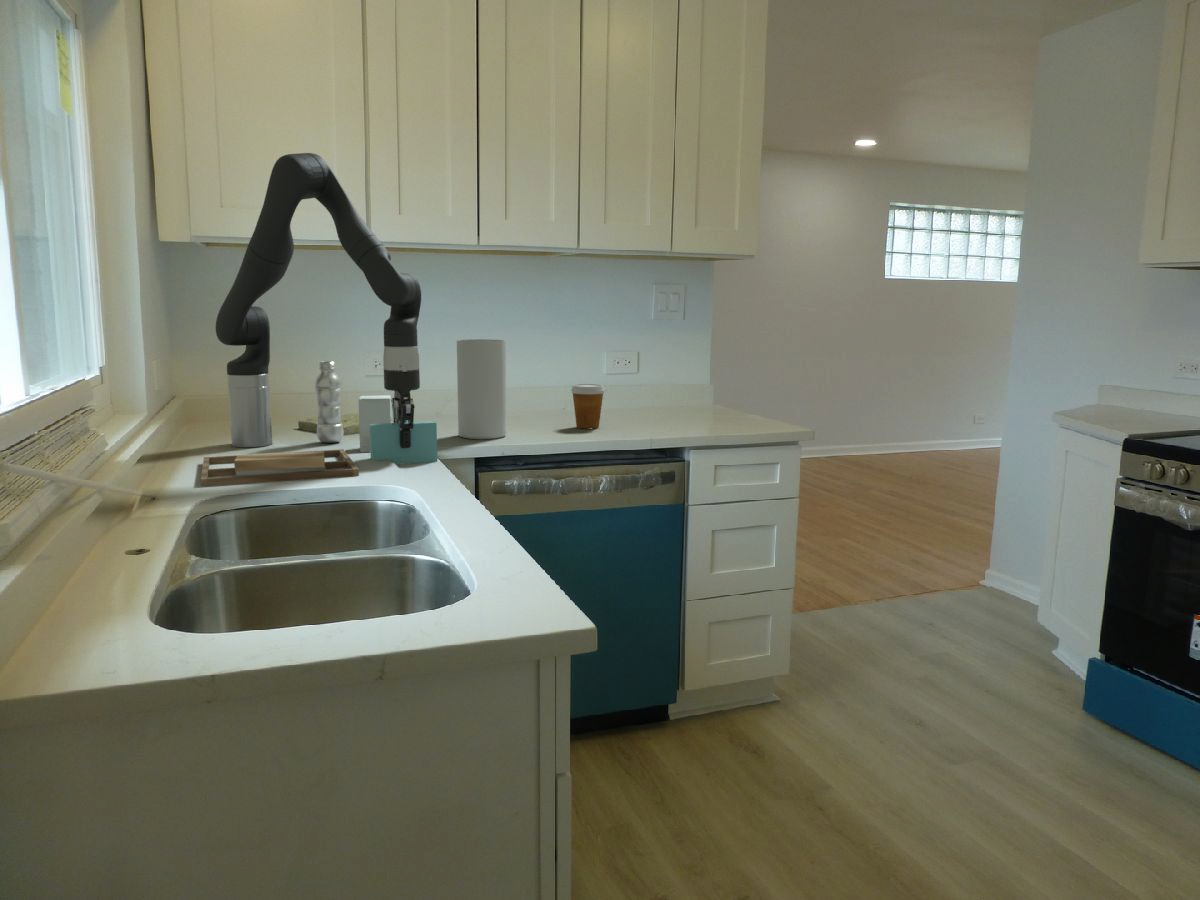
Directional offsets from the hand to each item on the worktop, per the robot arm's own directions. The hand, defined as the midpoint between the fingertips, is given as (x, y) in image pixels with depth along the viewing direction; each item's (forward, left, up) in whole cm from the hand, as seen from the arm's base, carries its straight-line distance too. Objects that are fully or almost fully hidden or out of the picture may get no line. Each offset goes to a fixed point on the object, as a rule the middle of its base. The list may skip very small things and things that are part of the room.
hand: (403, 446), depth 187 cm
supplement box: (-19, -3, -4) cm, 20 cm away
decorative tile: (-56, -5, -4) cm, 56 cm away
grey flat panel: (+12, -26, -2) cm, 29 cm away
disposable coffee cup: (-35, +58, -4) cm, 68 cm away
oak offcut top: (+12, -26, 0) cm, 29 cm away
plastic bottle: (-33, -12, -4) cm, 35 cm away
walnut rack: (+4, -26, -4) cm, 27 cm away
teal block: (0, 0, -4) cm, 4 cm away
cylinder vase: (-30, +26, -4) cm, 40 cm away
